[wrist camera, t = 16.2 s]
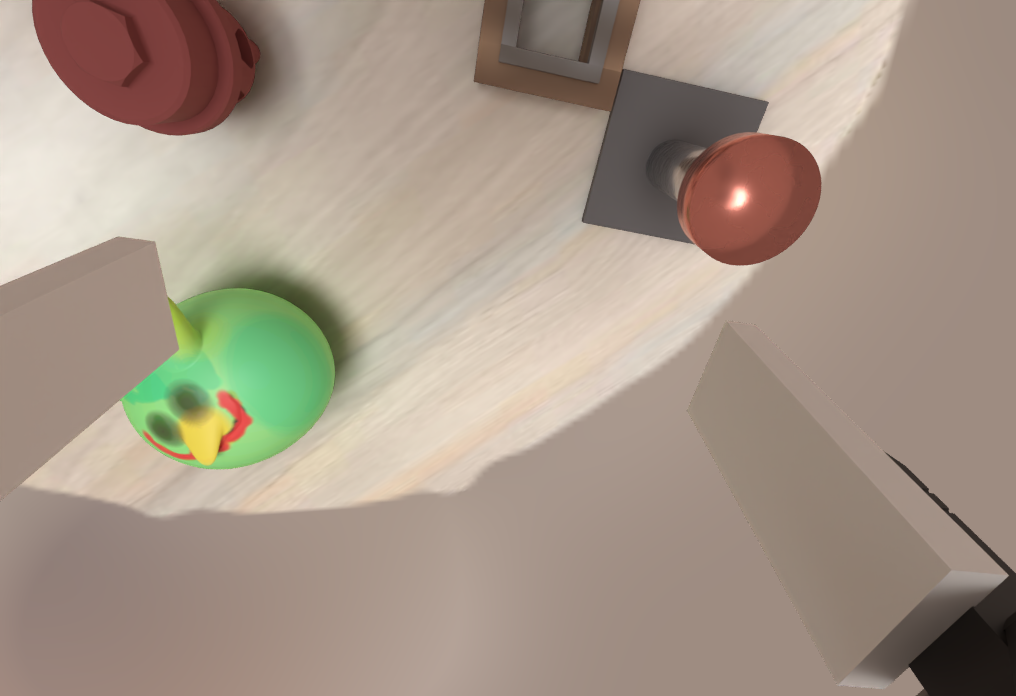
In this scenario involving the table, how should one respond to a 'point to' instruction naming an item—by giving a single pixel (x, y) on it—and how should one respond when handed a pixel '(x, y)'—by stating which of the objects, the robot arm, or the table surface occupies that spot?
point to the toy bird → (234, 381)
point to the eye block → (551, 74)
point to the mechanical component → (149, 59)
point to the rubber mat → (640, 129)
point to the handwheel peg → (739, 193)
